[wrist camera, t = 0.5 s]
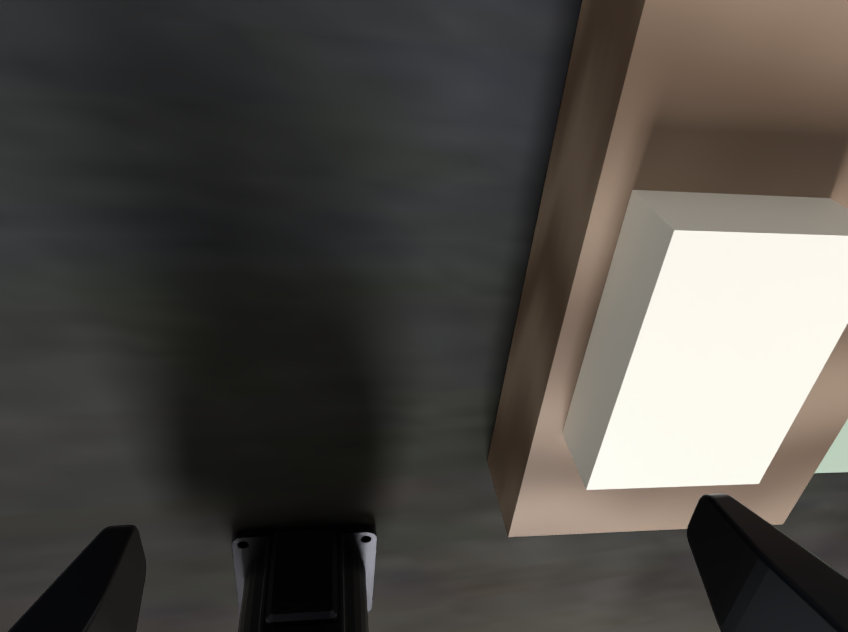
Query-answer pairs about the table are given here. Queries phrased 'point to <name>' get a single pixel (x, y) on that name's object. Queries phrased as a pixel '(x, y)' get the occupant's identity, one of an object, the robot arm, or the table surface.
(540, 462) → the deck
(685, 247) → the tile
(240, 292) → the table surface
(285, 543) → the robot arm
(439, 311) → the table surface
